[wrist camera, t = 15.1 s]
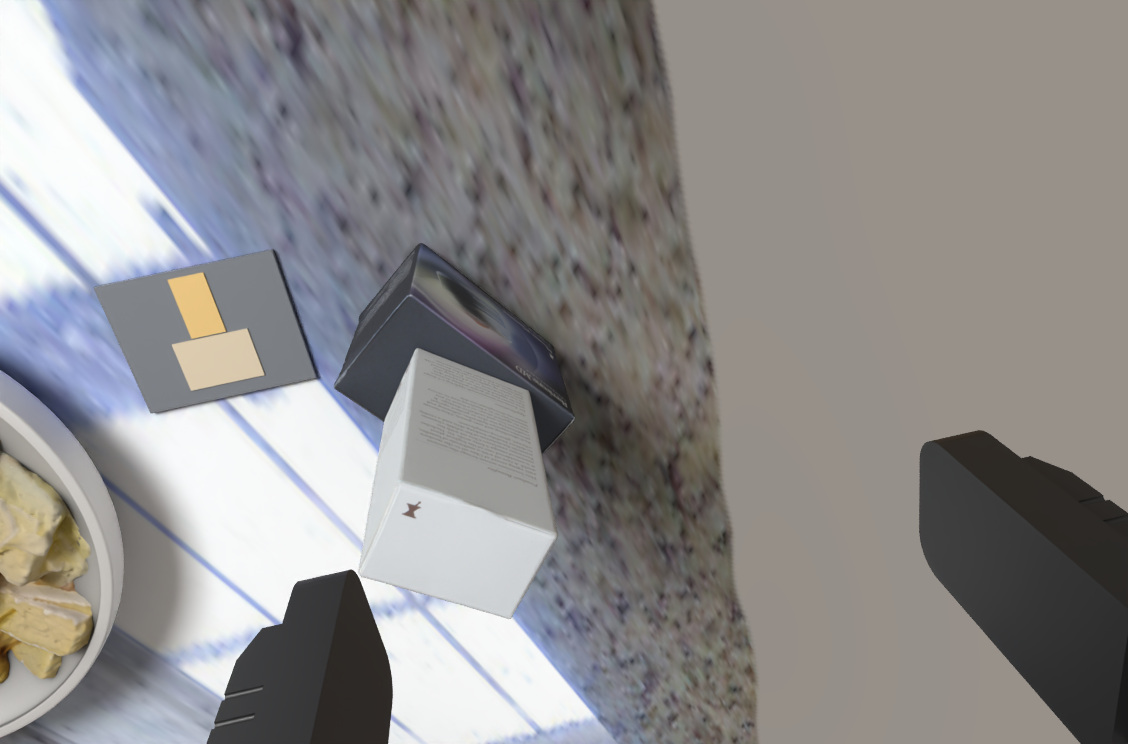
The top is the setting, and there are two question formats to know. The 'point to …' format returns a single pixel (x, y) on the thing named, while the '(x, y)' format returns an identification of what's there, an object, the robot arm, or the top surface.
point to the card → (208, 331)
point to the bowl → (50, 559)
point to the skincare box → (459, 490)
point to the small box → (449, 342)
